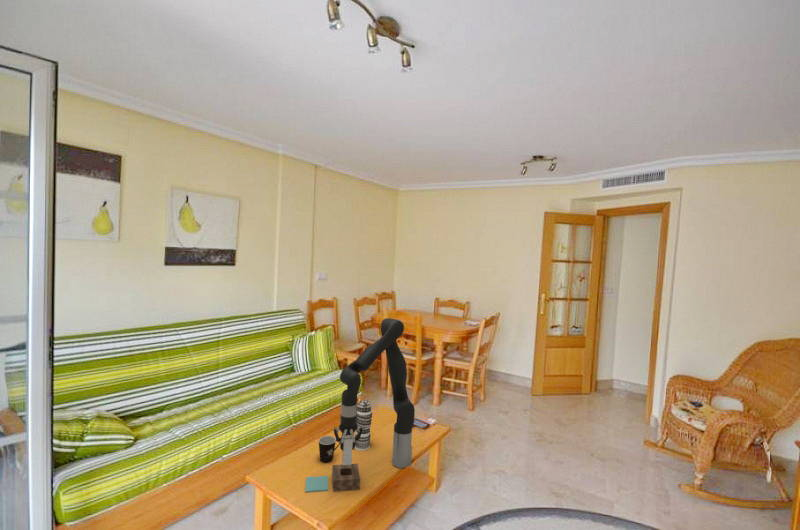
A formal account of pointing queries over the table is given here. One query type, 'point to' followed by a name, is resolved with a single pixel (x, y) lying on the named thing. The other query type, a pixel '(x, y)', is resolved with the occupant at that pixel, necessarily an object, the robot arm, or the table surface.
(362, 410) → the decorative candle
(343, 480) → the socket block
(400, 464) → the robot arm
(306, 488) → the pad
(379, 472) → the table surface
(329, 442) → the coffee mug
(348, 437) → the steel peg
